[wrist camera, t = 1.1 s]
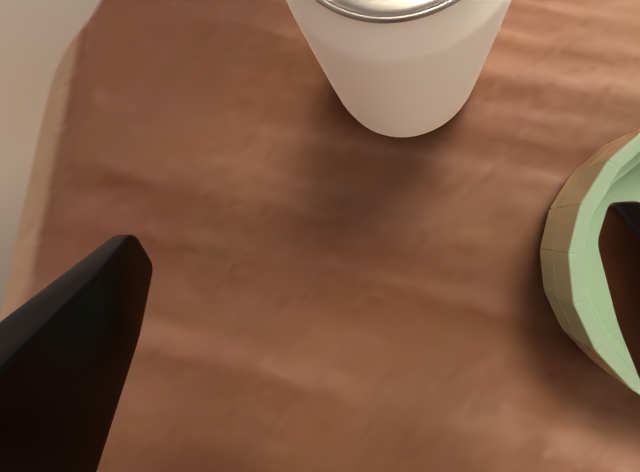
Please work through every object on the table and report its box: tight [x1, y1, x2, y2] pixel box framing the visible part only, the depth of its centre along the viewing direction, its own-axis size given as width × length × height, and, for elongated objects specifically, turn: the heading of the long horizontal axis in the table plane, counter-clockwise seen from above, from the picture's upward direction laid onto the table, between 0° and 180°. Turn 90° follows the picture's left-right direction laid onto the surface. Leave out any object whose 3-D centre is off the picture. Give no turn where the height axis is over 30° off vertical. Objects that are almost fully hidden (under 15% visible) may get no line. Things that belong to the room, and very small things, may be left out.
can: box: [286, 0, 511, 137], centre depth 16 cm, size 6×6×12 cm
